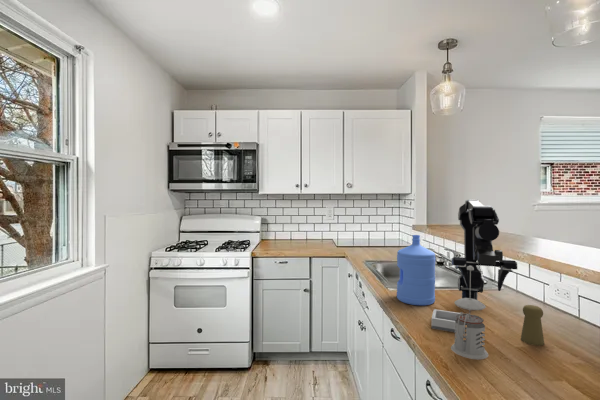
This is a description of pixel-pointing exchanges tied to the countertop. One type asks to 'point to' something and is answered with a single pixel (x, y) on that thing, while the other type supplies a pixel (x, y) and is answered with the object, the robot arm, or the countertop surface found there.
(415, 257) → the water jug
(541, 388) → the countertop surface
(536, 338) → the cork
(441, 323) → the grey square open box
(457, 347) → the french press
